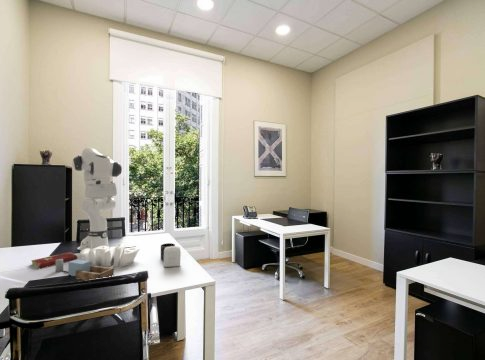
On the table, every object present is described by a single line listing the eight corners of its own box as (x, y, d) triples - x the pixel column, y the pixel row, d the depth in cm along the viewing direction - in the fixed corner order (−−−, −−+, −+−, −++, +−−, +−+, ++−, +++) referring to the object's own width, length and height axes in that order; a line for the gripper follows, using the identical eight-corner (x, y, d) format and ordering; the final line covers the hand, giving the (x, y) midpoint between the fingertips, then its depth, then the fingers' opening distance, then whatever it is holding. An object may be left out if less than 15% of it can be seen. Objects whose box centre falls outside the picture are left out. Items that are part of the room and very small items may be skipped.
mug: (172, 261, 165) (172, 247, 165) (157, 259, 169) (157, 246, 169) (180, 257, 174) (180, 244, 174) (166, 255, 178) (166, 242, 178)
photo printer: (180, 264, 160) (180, 245, 160) (180, 266, 156) (180, 246, 156) (163, 265, 158) (163, 245, 158) (163, 267, 154) (163, 247, 153)
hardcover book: (77, 261, 165) (77, 254, 165) (38, 270, 148) (38, 263, 148) (69, 257, 172) (69, 251, 172) (31, 266, 154) (31, 259, 154)
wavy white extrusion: (72, 269, 149) (72, 252, 149) (85, 260, 165) (85, 244, 165) (134, 267, 154) (134, 250, 154) (140, 258, 171) (141, 243, 171)
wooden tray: (113, 276, 140) (113, 268, 140) (99, 282, 131) (99, 274, 131) (90, 272, 144) (90, 265, 144) (75, 279, 135) (75, 270, 135)
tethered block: (90, 274, 142) (90, 261, 142) (82, 277, 137) (82, 264, 137) (61, 269, 148) (61, 257, 148) (52, 272, 143) (52, 259, 143)
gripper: (111, 181, 162) (111, 202, 162) (83, 181, 142) (83, 205, 142) (119, 181, 160) (119, 202, 160) (91, 181, 140) (91, 206, 140)
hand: (101, 204), depth 151 cm, fingers open, 8 cm apart
